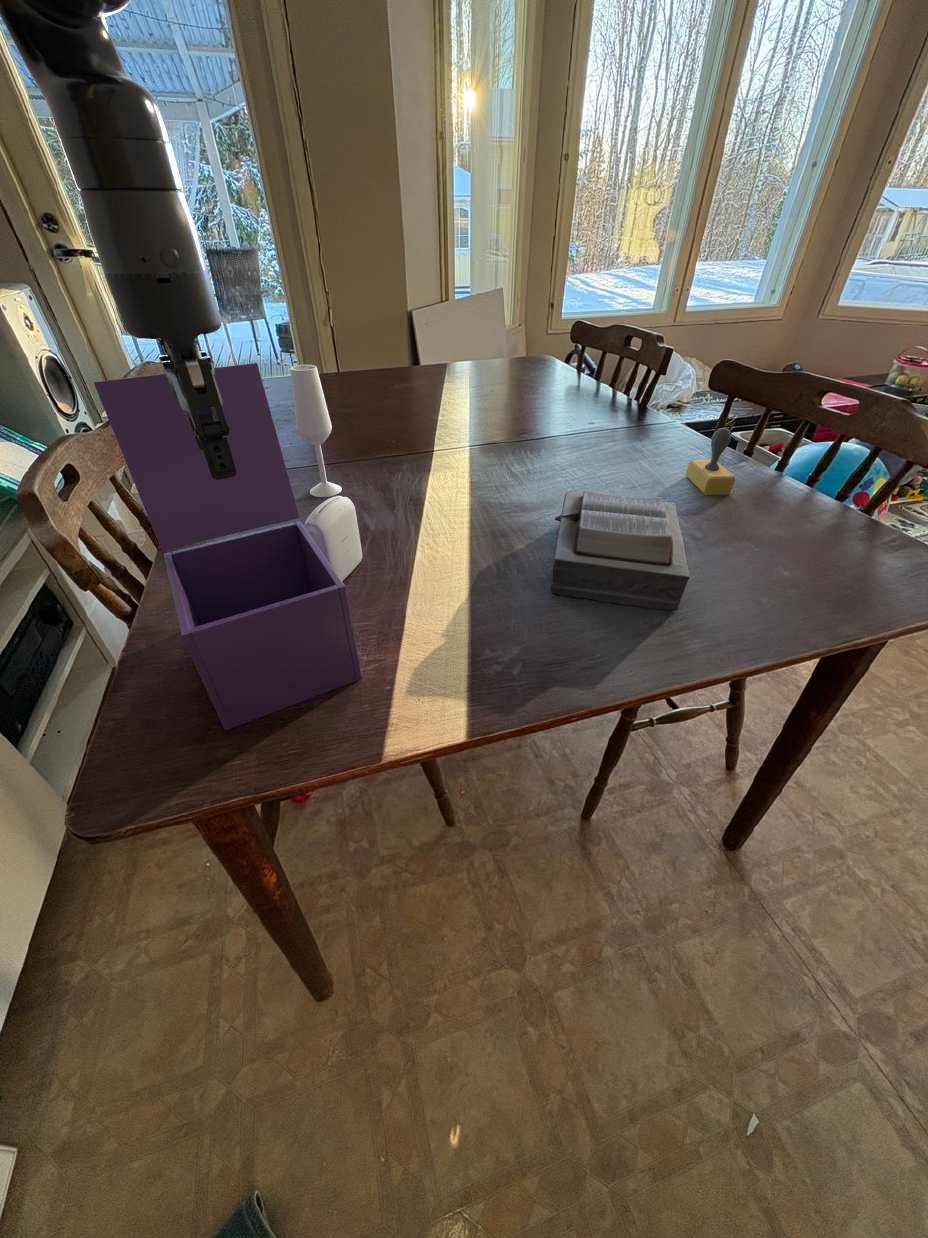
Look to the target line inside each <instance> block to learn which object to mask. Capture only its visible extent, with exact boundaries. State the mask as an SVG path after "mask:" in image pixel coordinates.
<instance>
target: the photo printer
mask: <svg viewBox="0 0 928 1238" xmlns="http://www.w3.org/2000/svg"><path fill="white" fill-rule="evenodd" d="M357 518H358V517H357V512H356V507H355V504H354V503H353V501H352V500H351V499H350V498H349V497H347V496H342V495H335V496H331V497H329V498H327V499H326V500H324V501H323V502H321V503H320V504H319V505H318V506H317V507H316V508H315V509H313V510H312V512H311V513H310V514H309V515H308V517H307V518H306V519H305V522H304V524H303V526H304V527H305V529H306V530H307V532H308V533H309V534H310V536H311V537H312V539H313V540H314V542H315V543H316V545H317V546H318V548H319V549H320V550H321V552H322V553H323V555H324V556H325V558H326V559H327V561H328V562H329V564H330V565H331V566H332V568H333V569H334V571H335V572H336V574H337V575H338V577H339V578H340V580H341V581H342V582H343V581H344V580H346V579H347V577H348V576H349V575H350V574H351V573H352V572H353V571H354V570H355V569H356V568H357V566H358V565H360V563H361V562H362V560H363V551H362V544H361V536H360V531H359V525H358V524H359V523H358V519H357Z"/></svg>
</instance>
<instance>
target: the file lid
mask: <svg viewBox="0 0 928 1238" xmlns="http://www.w3.org/2000/svg"><path fill="white" fill-rule="evenodd" d="M214 368H215V375H216V378H215V380H216V383H217V386H218V389H219V392H220V395H221V398H222V400H223V413H224V416H225V420H226V423H227V424H228V425H229V428H230V430H229V435H228V436H226V437H227V440H228V444H229V447H230V451H231V454H232V458H233V461H234V464H235V468H236V471H237V473H236V475H235V476H234V477H230V478H225V479H220V480H216V479H214V478H213V477H212V475H211V473H210V470H209V467H208V464H207V461H206V458H205V455H204V452H203V450H201V449H199V447H198V445H197V442H196V439H195V436H194V433H193V430H192V427H191V424H190V421H189V418H188V416H185V415H184V414H183V412H182V410H181V407H180V404H179V401H178V399H177V398H176V397H175V395H174V392H173V389H172V387H171V384H169V382H168V380H167V377H166V376H165V373H158V374H151V375H143V376H141V375H140V376H132V377H125V378H124V377H123V378H116V379H115V378H114V379H108V380H107V379H106V380H98V381H93V385H94V388H95V390H96V392H97V396H98V397H99V400H100V402H101V405H102V407H103V409H104V412H105V415H106V417H107V419H108V422H109V424H110V427H111V429H112V432H113V433H114V436H115V439H116V442H117V444H118V447H119V449H120V452H121V454H122V456H123V459H124V462H125V463H126V466H127V468H128V471H129V474H130V476H131V479H132V481H133V483H134V486H135V488H136V491H137V493H138V495H139V498H140V500H141V503H142V505H143V509H144V510H145V513H146V515H147V518H148V520H149V523H150V525H151V527H152V531H153V533H154V535H155V537H156V541H157V542H158V546H159V548H160V550H161V551H167V550H172V549H176V548H179V547H185V546H188V545H193V544H196V543H201V542H205V541H209V540H213V539H214V540H215V539H217V538H222V537H226V536H230V535H234V534H238V533H242V532H247V531H251V530H255V529H259V528H260V529H261V528H264V527H268V526H272V525H276V524H280V523H285V522H289V521H292V520H293V521H294V520H297V519H300V518H301V516H300V512H299V509H298V505H297V502H296V498H295V495H294V490H293V488H292V483H291V480H290V477H289V473H288V469H287V466H286V462H285V458H284V455H283V452H282V447H281V444H280V441H279V437H278V433H277V430H276V426H275V422H274V418H273V415H272V411H271V408H270V404H269V400H268V396H267V393H266V389H265V385H264V383H263V378H262V374H261V371H260V367H259V364H258V363H257V362H254V363H245V364H243V363H242V364H236V365H227V366H219V367H214ZM212 416H213V419H214V422H215V421H216V418H215V415H214V414H212Z"/></svg>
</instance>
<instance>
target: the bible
mask: <svg viewBox="0 0 928 1238" xmlns="http://www.w3.org/2000/svg"><path fill="white" fill-rule="evenodd" d="M554 521H557V522H558V529H557V535H556V541H555V548H554V553H553V566H552V575H551V576H552V579H551V585H550V586H549V588H550V593H551V592H552V593H555V594H557V595H560V596H563V597H566V596H570V597H573V598H576V599H588V600H593V601H594V600H595V601H597V602H603V603H610V604H617V605H625V606H635V607H643V608H648V609H650V610H653V609H655V610H668V611H678V610H679V605H680V602H681V599H682V597H683V595H684V593H685V590H686V587H687V585H688V582H689V579H690V578H691V577H690V576H691V574H690V570H689V566H688V562H687V557H686V551H685V545H684V540H683V535H682V532H681V527H680V523H679V518H678V511H677V504H676V503H675V502H672V501H665V499H664V497H663V496H645V497H643V496H624V495H623V496H622V495H615V494H608V493H601V492H596V491H592V490H587V489H585V490H583V492H576V491H566V492H565V494H564V497H563V504H562V507H561V514H560V515H557V516H555V517H554Z"/></svg>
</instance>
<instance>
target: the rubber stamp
mask: <svg viewBox="0 0 928 1238" xmlns="http://www.w3.org/2000/svg"><path fill="white" fill-rule="evenodd" d="M731 438H732V434H731V431H730V430H729V429H728V428H726V427H721V428H718V429H716V430H715V431H714V433H713V434H712V436H711V440H710V447H711V459H691V460H690V461H688V465H687V470H686V473H685V476H686V477H687V478H688V479H689V480H690V481H691V482H692V484H694V485H695V486H696V487H697V489H698V490H700V491H701V492H702V493H703V494H704V495H705V496H720V495H721V496H723V495H730V494H731V493H732V490H733V487H734V485H735V481H736V476H734V474H733V473H731V472H730V471H729V470H728V469H726V468H725V467H724V466H723V465H722V464H721V463H720V462H719V458H720V456H721V455H722V454H723V452H724V451H725V450H726V449H727V447H728V446H729V444H730V442H731Z"/></svg>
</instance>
